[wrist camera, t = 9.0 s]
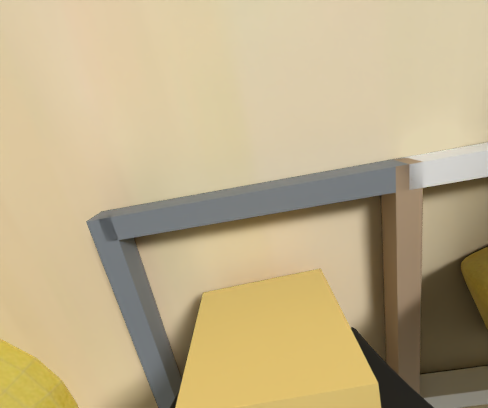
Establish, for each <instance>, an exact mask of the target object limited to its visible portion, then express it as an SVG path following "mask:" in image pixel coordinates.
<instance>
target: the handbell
mask: <svg viewBox="0 0 488 408" xmlns="http://www.w3.org/2000/svg"><path fill="white" fill-rule="evenodd" d="M0 408H78V405H77V403H76V402H75V400H74V399H73V397H72V395H71V394H70V392H69V391H68V389H67V387H66V386H65V384H64V383H63V381H62V380H61V379H60V378H59V377H57V376H56V375H55V374H54V373H53V372H52V371H51V370H49V369H48V368H47V367H46V366H45V365H44V364H43V363H41V362H40V361H39V360H38V359H37V358H36V357H34V356H32V355H30V354H28V353H26V352H24V351H22V350H20V349H19V348H17V347H15V346H13V345H11V344H9V343H7V342H5V341H3V340H1V339H0Z"/></svg>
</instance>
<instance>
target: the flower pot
mask: <svg viewBox="0 0 488 408" xmlns="http://www.w3.org/2000/svg"><path fill="white" fill-rule="evenodd" d="M461 271H462V274H463V277H464V279H465V282H466V284H467V286H468V288H469V291H470V293H471V295H472V297H473V299H474V301H475V304H476V306H477V308H478V310H479V312H480V315H481V317H482V319H483V321H484V323H485V326H486V328H487V330H488V247H486V248H483V249H481V250H479V251H477V252H475V253H473V254H471V255H469V256H468V257H466V258H465V259H464V260H463V261H462V263H461Z"/></svg>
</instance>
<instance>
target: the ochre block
mask: <svg viewBox="0 0 488 408" xmlns="http://www.w3.org/2000/svg"><path fill="white" fill-rule="evenodd" d="M175 408H381V402H380V393H379V385H378V382H377V380H376V378H375V376H374V374H373V372H372V370H371V368H370V366H369V364H368V362H367V360H366V358H365V356H364V354H363V352H362V350H361V348H360V346H359V344H358V342H357V340H356V338H355V336H354V334H353V332H352V330H351V328H350V326H349V324H348V322H347V320H346V318H345V316H344V314H343V312H342V310H341V308H340V306H339V304H338V302H337V300H336V298H335V296H334V294H333V292H332V290H331V288H330V286H329V284H328V282H327V280H326V278H325V277H324V275H323V273H322V271H321V269H316V270H311V271H306V272H301V273H296V274H292V275H287V276H282V277H277V278H272V279H267V280H262V281H258V282H253V283H248V284H243V285H238V286H233V287H228V288H223V289H219V290H214V291H209V292H204V293H203V295H202V299H201V304H200V308H199V312H198V316H197V320H196V324H195V328H194V333H193V337H192V341H191V345H190V349H189V353H188V357H187V362H186V366H185V370H184V374H183V378H182V382H181V386H180V391H179V395H178V399H177V403H176V407H175Z"/></svg>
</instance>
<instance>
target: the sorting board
mask: <svg viewBox="0 0 488 408" xmlns="http://www.w3.org/2000/svg"><path fill="white" fill-rule="evenodd" d="M483 177H488V142H487V143H481V144H476V145H470V146H465V147H459V148H453V149H448V150H442V151H437V152H431V153H426V154H420V155H414V156H409V157H403V158H398V159H392V160H387V161H381V162H375V163H370V164H364V165H359V166H353V167H347V168H342V169H336V170H331V171H325V172H320V173H314V174H308V175H303V176H297V177H292V178H286V179H280V180H275V181H269V182H264V183H258V184H253V185H247V186H241V187H236V188H230V189H225V190H219V191H213V192H208V193H202V194H197V195H191V196H186V197H180V198H174V199H169V200H163V201H158V202H152V203H147V204H141V205H135V206H130V207H124V208H119V209H113V210H107V211H102V212H100V213H99V214H97V215H96V216H94V217H92V218H91V219H89V220H88V221H86V222H87V225H88V228H89V230H90V233H91V235H92V238H93V240H94V243H95V246H96V248H97V251H98V253H99V256H100V258H101V261H102V264H103V266H104V269H105V271H106V274H107V277H108V279H109V282H110V284H111V287H112V289H113V292H114V295H115V297H116V300H117V302H118V305H119V307H120V310H121V313H122V315H123V318H124V320H125V323H126V325H127V328H128V331H129V333H130V336H131V338H132V341H133V344H134V346H135V349H136V351H137V354H138V356H139V359H140V362H141V364H142V367H143V369H144V372H145V374H146V377H147V380H148V382H149V385H150V387H151V390H152V392H153V395H154V398H155V400H156V403H157V405H158V408H170V406H171V404H172V402H173V401H174V399H175V397H176V395H177V393H178V391H179V389H180V386H181V382H182V379H181V376H180V373H179V370H178V367H177V364H176V362H175V359H174V356H173V353H172V350H171V347H170V344H169V341H168V338H167V335H166V332H165V329H164V326H163V323H162V320H161V317H160V314H159V311H158V308H157V305H156V302H155V299H154V296H153V293H152V290H151V287H150V284H149V281H148V278H147V276H146V273H145V270H144V267H143V264H142V261H141V258H140V255H139V252H138V249H137V246H136V243H135V240H134V237H140V236H146V235H151V234H157V233H163V232H169V231H175V230H181V229H186V228H192V227H198V226H204V225H210V224H215V223H221V222H227V221H233V220H239V219H244V218H250V217H256V216H262V215H268V214H274V213H279V212H285V211H291V210H297V209H303V208H308V207H314V206H320V205H326V204H332V203H337V202H343V201H349V200H355V199H361V198H367V197H372V196H378V195H381V209H382V241H383V272H384V303H385V335H386V363H387V364H388V365H389V366H390V367H391V368H392V369H393V370H394V371H395V372H396V373H397V374H398V375H399V376H400V377H401V378H402V379H403V380H404V381H405V382H406V383H407V384H408V385H409V386H410V387H412V388H413V389H414V390H415V391H416V392H417V393H418V394H419V395H420V396H421V397H423V398H424V399H425V400H426V401H427V402H428V403H429V404H431V405H432V406H433V407H434V408H461V407H469V406H478V405H486V404H488V366H482V367H474V368H466V369H459V370H451V371H444V372H436V373H429V374H421V375H420V333H421V274H422V214H423V188H425V187H431V186H436V185H442V184H448V183H454V182H460V181H465V180H471V179H477V178H483Z"/></svg>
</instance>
